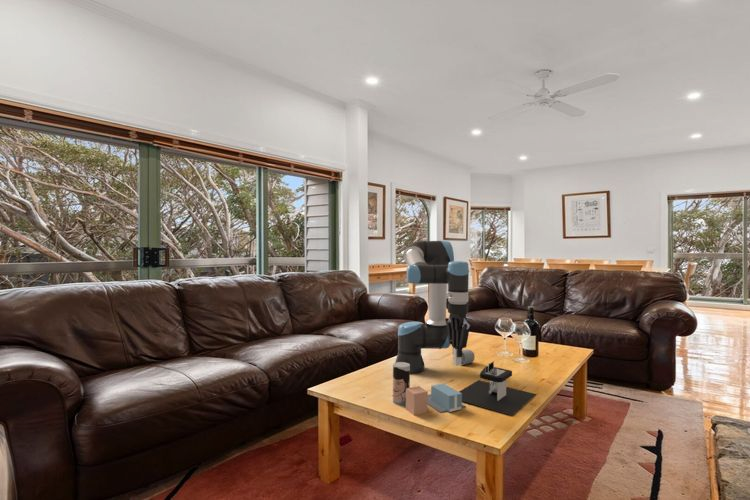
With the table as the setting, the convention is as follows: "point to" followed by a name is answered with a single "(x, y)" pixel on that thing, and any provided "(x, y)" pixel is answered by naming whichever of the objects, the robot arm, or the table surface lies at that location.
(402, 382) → the white patterned canister
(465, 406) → the charcoal mat
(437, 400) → the slate-blue block
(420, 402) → the terracotta block
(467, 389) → the black-topped pedestal
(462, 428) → the table surface
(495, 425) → the table surface
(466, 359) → the ceramic mug
